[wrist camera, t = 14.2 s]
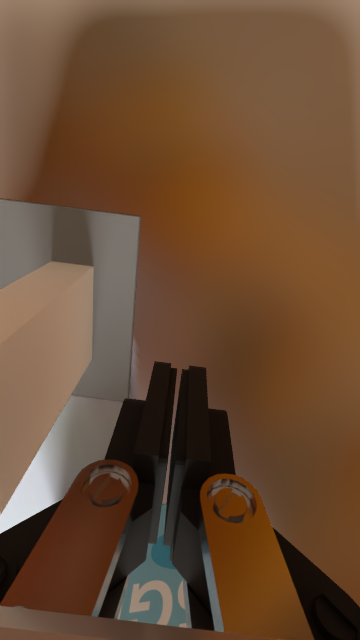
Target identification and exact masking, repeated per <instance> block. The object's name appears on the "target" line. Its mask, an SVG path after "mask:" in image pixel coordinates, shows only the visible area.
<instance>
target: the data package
mask: <svg viewBox="0 0 360 640" xmlns="http://www.w3.org/2000/svg"><path fill="white" fill-rule="evenodd" d="M166 506H167V504H162V508H161V515H160V522H159V530H158V537H157V544H149V543H148V549H147V557H146V561H144V562H143V563H142V564H141V565H140V566H138V567H137V568H136V569H135V570H133V571H132V572H131V573H130V577H129V583H128V586H127V589H126V593H125V596H124V599H123V602H122V606H121V609H120V612H119V615H118V620H126V621H135V622H143V623H152V624H160V625H168V626H176V627H185V628H187V625H186V615H185V605H184V595H183V577H182V576H181V574H180V573H179V572H178V571H177V569H176V568H175V567H174V566H173V564H172V561H170V551H171V546H166V545H163V540H164V528H165V517H166Z"/></svg>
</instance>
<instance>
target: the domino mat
mask: <svg viewBox="0 0 360 640" xmlns="http://www.w3.org/2000/svg"><path fill="white" fill-rule="evenodd" d="M140 224H141V216H137V215H129V214H121V213H113V212H104V211H97V210H89V209H82V208H81V209H80V208H74V207H66V206H58V205H50V204H42V203H33V202H26V201H18V200H9V199H2V198H0V289H2V288H4V287H6V286H8V285H9V284H11V283H13V282H15V281H17V280H18V279H20V278H22V277H24V276H26V275H28V274H29V273H31V272H33V271H35V270H37V269H38V268H40V267H42V266H44V265H46V264H47V263H49V262H51V261H53V262H61V263H69V264H77V265H85V266H93V267H94V275H93V335H92V360H91V362H90V363H89V365H88V367H87V368H86V370H85V372H84V373H83V375H82V377H81V379H80V380H79V382H78V384H77V385H76V387H75V389H74V391H73V392H72V394H71V395H73V396H81V397H89V398H97V399H105V400H113V401H121V402H124V399H125V398H127V399H128V398H129V385H130V371H131V356H132V341H133V326H134V311H135V295H136V283H137V282H136V281H137V267H138V253H139V238H140Z"/></svg>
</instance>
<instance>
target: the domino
mask: <svg viewBox="0 0 360 640" xmlns="http://www.w3.org/2000/svg"><path fill="white" fill-rule="evenodd" d="M93 275H94V267H93V266H85V265H77V264H69V263H61V262H53V261H51V262H49V263H47V264H46V265H44V266H42V267H40V268H38V269H37V270H35V271H33V272H31V273H29V274H28V275H26V276H24V277H22V278H20V279H18V280H17V281H15V282H13V283H11V284H9V285H8V286H6V287H4V288H2V289H0V515H1V513H2V512H3V510H4V508H5V507H6V505H7V503H8V501H9V500H10V498H11V496H12V495H13V493H14V491H15V489H16V488H17V486H18V484H19V483H20V481H21V479H22V478H23V476H24V474H25V472H26V471H27V469H28V467H29V466H30V464H31V462H32V460H33V459H34V457H35V455H36V454H37V452H38V450H39V449H40V447H41V445H42V443H43V442H44V440H45V438H46V437H47V435H48V433H49V431H50V430H51V428H52V426H53V425H54V423H55V421H56V420H57V418H58V416H59V414H60V413H61V411H62V409H63V408H64V406H65V404H66V402H67V401H68V399H69V397H70V396H71V394H72V392H73V391H74V389H75V387H76V385H77V384H78V382H79V380H80V379H81V377H82V375H83V373H84V372H85V370H86V368H87V367H88V365H89V363H90V362H91V360H92V335H93Z"/></svg>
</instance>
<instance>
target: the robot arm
mask: <svg viewBox="0 0 360 640" xmlns="http://www.w3.org/2000/svg"><path fill="white" fill-rule="evenodd" d="M176 374H177V369H176V368H171V363H164V362H156V361H155V363H154V367H153V371H152V376H151V380H150V385H149V389H148V394H147V398H146V401H144V400H136V399H127V398H125V399H124V402H123V405H122V408H121V411H120V414H119V417H118V420H117V423H116V426H115V429H114V432H113V435H112V438H111V441H110V444H109V447H108V450H107V453H106V456H105V460H100V461H97V462H94V463H92V464H90V465H88V466H87V467H85V468H84V469H82V471H81V472H80V473H79V474H78V475H77V477H76V478H75V480H74V482H73V483H72V485H71V487H70V488H69V490H68V492H67V493H66V495H65V497H64V498H63V499H62V500H60V501H59V502H57V503H55V504H53V505H51V506H50V507H48V508H46V509H44V510H42V511H41V512H39V513H37V514H35V515H33V516H31V517H30V518H28V519H26V520H24V521H22V522H21V523H19V524H17V525H15V526H13V527H12V528H10V529H8V530H6V531H4V532H3V533H1V534H0V640H360V607H359V606H358V605H357V604H356V603H355V602H354V601H353V599H351V597H350V596H349V595H348V594H347V593H345V591H343V590H342V589H341V588H340V587H339V586H337V584H336V583H334V582H333V581H332V580H331V579H330V578H329V577H328V576H327V575H325V574H324V573H323V572H322V571H321V570H320V569H319V568H318V567H317V566H315V565H314V564H313V563H312V562H311V561H310V560H308V558H306V557H305V556H304V555H303V554H302V553H301V552H300V551H299V550H297V549H296V548H295V547H294V546H293V545H292V544H291V543H290V542H288V541H287V540H286V539H285V538H284V537H283V536H282V535H281V534H279V533H278V532H277V531H276V530H275V529H274V528H273V527H272V525H271V522H270V519H269V517H268V514H267V511H266V509H265V506H264V503H263V500H262V498H261V496H260V495H259V493H258V491H257V490H256V489H255V488H254V487H253V485H252V484H251V483H249V482H247V481H246V480H244V479H243V478H241V477H238V476H236V475H235V467H234V460H233V452H232V445H231V438H230V431H229V423H228V416H227V412H226V411H224V410H216V409H208V397H207V379H206V368H203V367H196V366H189V369H188V370H184V369H182V374H181V383H180V389H179V397H178V404H177V411H176V418H175V425H174V432H173V440H172V450H171V461H170V462H171V463H170V473H169V485H168V495H167V506H166V517H165V528H164V540H163V545H166V546H171V551H170V561H172V564H173V566H174V567H175V568H176V569H177V571H178V572H179V573H180V574H181V576H182V577H183V595H184V605H185V615H186V625H187V628H185V627H176V626H168V625H160V624H152V623H143V622H135V621H126V620H118V615H119V612H120V609H121V606H122V602H123V599H124V596H125V593H126V589H127V586H128V583H129V577H130V573H131V572H132V571H133V570H135V569H136V568H137V567H138V566H140V565H141V564H142V563H143V562H144V561H146V557H147V549H148V543H149V544H157V537H158V530H159V522H160V515H161V508H162V500H163V493H164V485H165V478H166V471H167V463H168V454H169V444H170V435H171V425H172V415H173V405H174V395H175V384H176Z"/></svg>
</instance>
